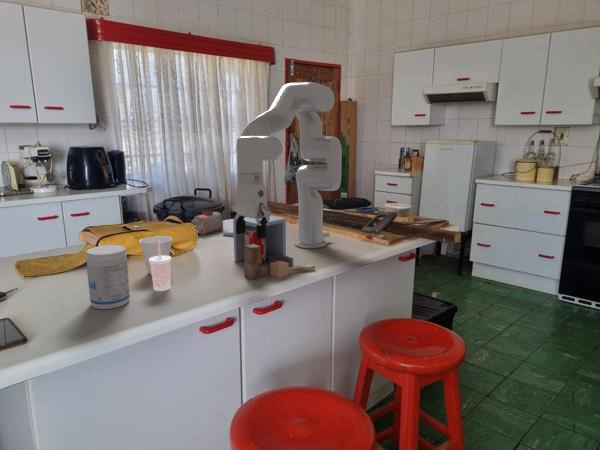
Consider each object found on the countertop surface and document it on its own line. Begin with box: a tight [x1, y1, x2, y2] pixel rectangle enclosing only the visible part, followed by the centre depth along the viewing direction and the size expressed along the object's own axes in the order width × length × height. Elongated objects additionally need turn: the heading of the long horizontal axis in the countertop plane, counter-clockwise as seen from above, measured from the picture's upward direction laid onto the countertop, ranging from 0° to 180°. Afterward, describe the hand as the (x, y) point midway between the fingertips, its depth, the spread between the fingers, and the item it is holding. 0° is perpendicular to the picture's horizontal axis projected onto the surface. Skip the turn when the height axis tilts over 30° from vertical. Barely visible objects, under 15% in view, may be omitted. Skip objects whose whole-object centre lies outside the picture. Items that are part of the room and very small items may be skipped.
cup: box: [138, 235, 173, 276], centre depth 138 cm, size 10×10×11 cm
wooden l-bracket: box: [243, 244, 294, 281], centre depth 141 cm, size 18×12×10 cm
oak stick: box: [288, 264, 316, 274], centre depth 140 cm, size 9×2×2 cm, turn 109°
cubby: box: [232, 215, 287, 263], centre depth 149 cm, size 12×13×15 cm
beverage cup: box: [149, 241, 172, 292], centre depth 123 cm, size 6×6×14 cm
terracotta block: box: [269, 260, 289, 279], centre depth 136 cm, size 4×4×4 cm
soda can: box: [244, 227, 267, 265], centre depth 148 cm, size 7×7×12 cm
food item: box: [190, 210, 224, 236], centre depth 195 cm, size 14×8×10 cm, turn 147°
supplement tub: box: [85, 244, 131, 310], centre depth 112 cm, size 10×10×15 cm
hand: (250, 235), depth 131 cm, fingers open, 9 cm apart
